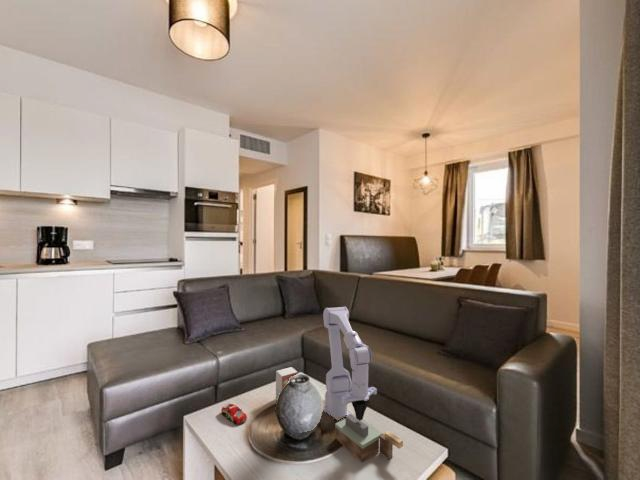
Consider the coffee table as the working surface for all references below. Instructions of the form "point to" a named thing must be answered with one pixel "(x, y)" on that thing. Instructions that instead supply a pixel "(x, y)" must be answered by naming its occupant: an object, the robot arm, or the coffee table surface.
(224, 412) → the race car
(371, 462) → the coffee table surface
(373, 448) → the toolbox
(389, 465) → the coffee table surface
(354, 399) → the robot arm
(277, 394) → the small box
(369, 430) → the toolbox lid
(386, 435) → the wooden block
